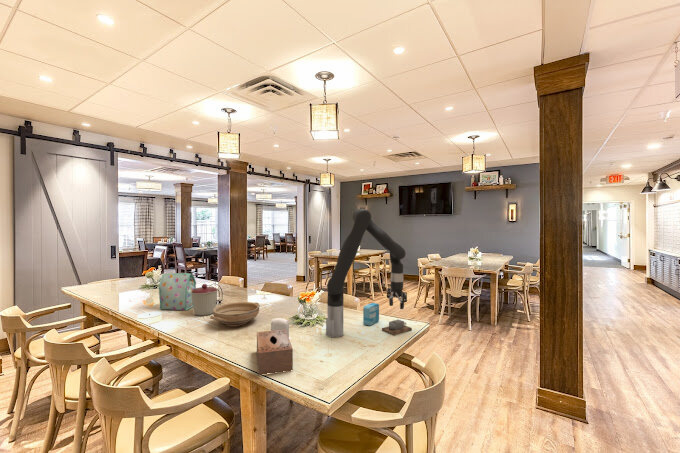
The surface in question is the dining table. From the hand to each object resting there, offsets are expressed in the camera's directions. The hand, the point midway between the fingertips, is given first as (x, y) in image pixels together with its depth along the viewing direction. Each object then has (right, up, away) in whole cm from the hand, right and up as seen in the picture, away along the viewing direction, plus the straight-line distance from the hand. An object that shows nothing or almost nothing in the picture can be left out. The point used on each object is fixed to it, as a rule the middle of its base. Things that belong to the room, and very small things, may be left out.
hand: (396, 307), depth 186 cm
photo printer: (-67, -15, -16) cm, 70 cm away
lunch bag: (-156, -14, +49) cm, 164 cm away
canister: (-130, -14, +35) cm, 135 cm away
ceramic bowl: (-100, -14, +14) cm, 102 cm away
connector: (0, -12, 0) cm, 12 cm away
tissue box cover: (-65, -15, -40) cm, 78 cm away
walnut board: (0, -14, 0) cm, 14 cm away
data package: (-14, -14, +13) cm, 24 cm away
